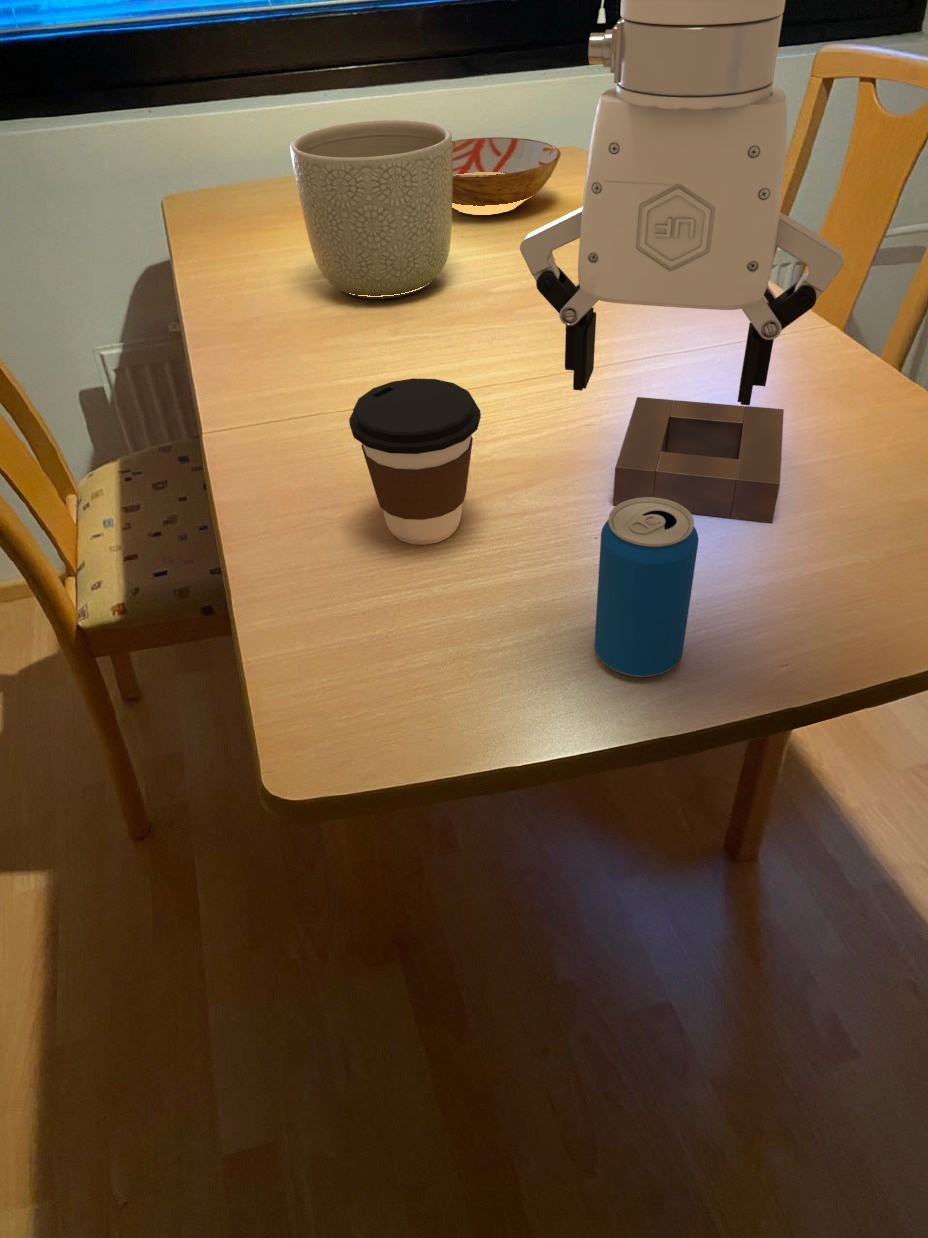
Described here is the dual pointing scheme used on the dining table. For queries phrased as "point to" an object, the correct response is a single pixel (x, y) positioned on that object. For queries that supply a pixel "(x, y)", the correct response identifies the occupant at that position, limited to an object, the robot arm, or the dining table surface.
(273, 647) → the dining table surface
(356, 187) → the planter
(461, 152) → the bowl
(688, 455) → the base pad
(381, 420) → the coffee cup
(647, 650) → the beverage can
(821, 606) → the dining table surface
